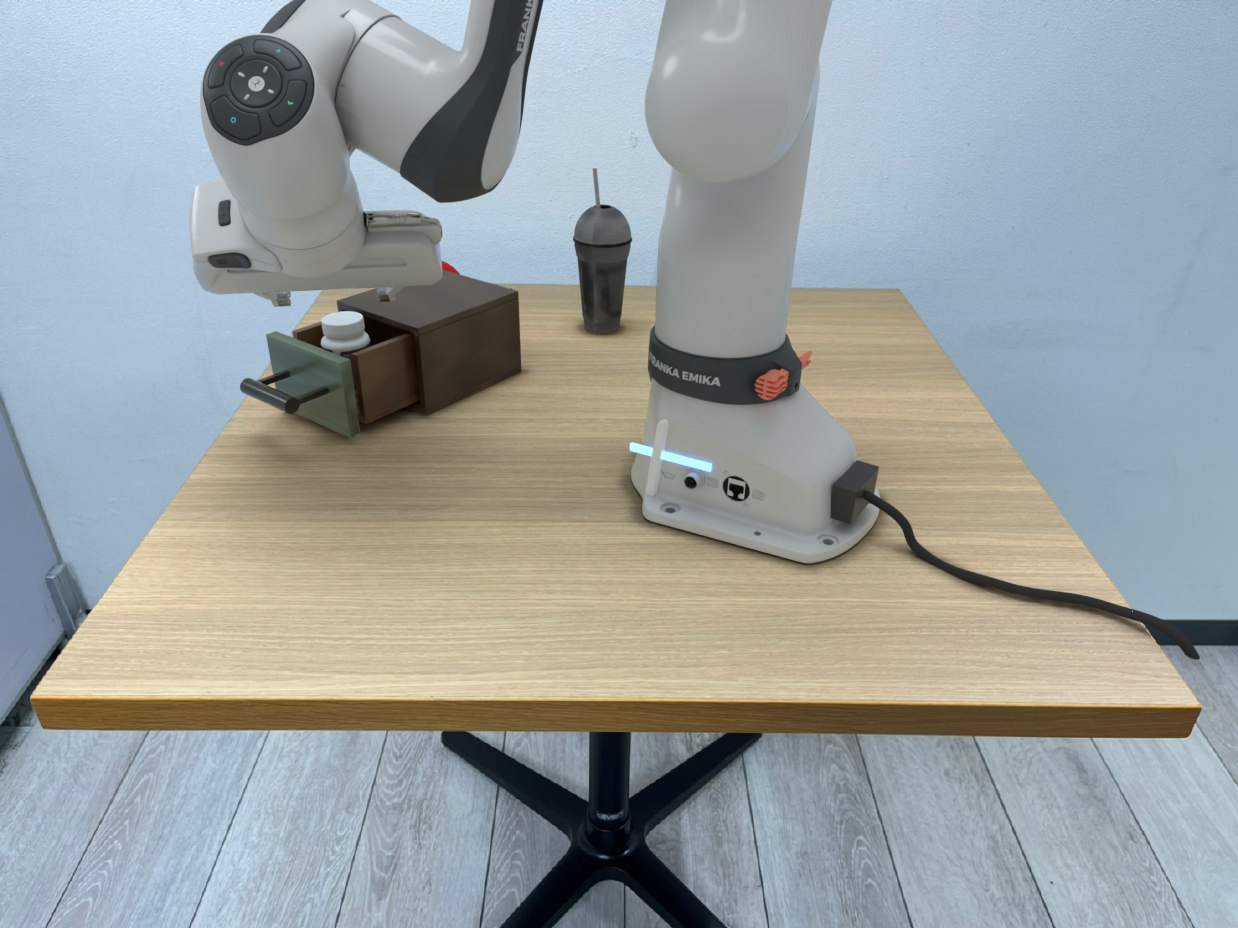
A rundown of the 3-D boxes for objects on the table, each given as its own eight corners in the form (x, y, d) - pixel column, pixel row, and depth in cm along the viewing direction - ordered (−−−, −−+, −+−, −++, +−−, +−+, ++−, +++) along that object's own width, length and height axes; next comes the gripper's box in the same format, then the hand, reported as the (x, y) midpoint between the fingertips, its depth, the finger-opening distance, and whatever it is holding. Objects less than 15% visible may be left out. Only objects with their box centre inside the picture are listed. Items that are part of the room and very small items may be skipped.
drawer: (307, 458, 84) (293, 380, 80) (235, 423, 90) (219, 349, 86) (452, 392, 97) (447, 323, 93) (381, 365, 103) (373, 299, 99)
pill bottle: (382, 386, 95) (373, 310, 91) (368, 406, 91) (358, 327, 87) (338, 384, 96) (327, 308, 92) (322, 404, 92) (309, 325, 87)
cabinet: (426, 415, 94) (418, 328, 89) (347, 383, 101) (336, 300, 96) (521, 371, 104) (518, 290, 100) (444, 345, 111) (438, 268, 106)
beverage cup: (641, 331, 116) (646, 170, 106) (593, 342, 112) (594, 176, 103) (609, 314, 121) (611, 159, 111) (562, 324, 118) (560, 165, 108)
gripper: (438, 179, 74) (446, 262, 87) (171, 186, 71) (221, 270, 84) (443, 249, 73) (450, 322, 86) (170, 259, 69) (221, 333, 82)
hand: (335, 297), depth 85 cm, fingers open, 8 cm apart
